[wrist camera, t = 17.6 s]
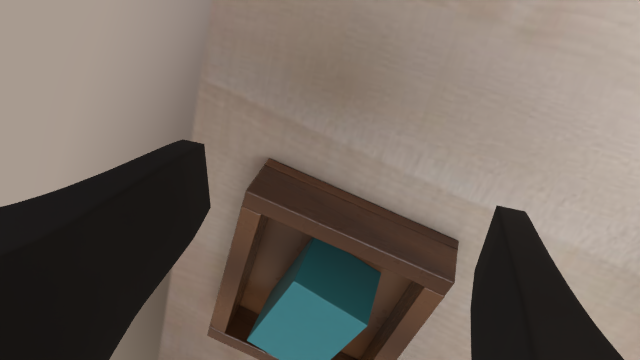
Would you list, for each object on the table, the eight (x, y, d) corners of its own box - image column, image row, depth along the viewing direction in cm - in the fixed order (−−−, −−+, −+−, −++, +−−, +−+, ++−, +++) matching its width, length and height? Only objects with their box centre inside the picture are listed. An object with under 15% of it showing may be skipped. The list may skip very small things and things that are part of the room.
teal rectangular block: (270, 292, 28) (246, 340, 26) (315, 232, 25) (293, 281, 22) (328, 327, 29) (310, 378, 26) (381, 272, 25) (367, 326, 22)
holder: (370, 366, 30) (361, 407, 28) (227, 300, 31) (206, 336, 29) (458, 241, 23) (455, 283, 21) (268, 157, 24) (245, 190, 21)
